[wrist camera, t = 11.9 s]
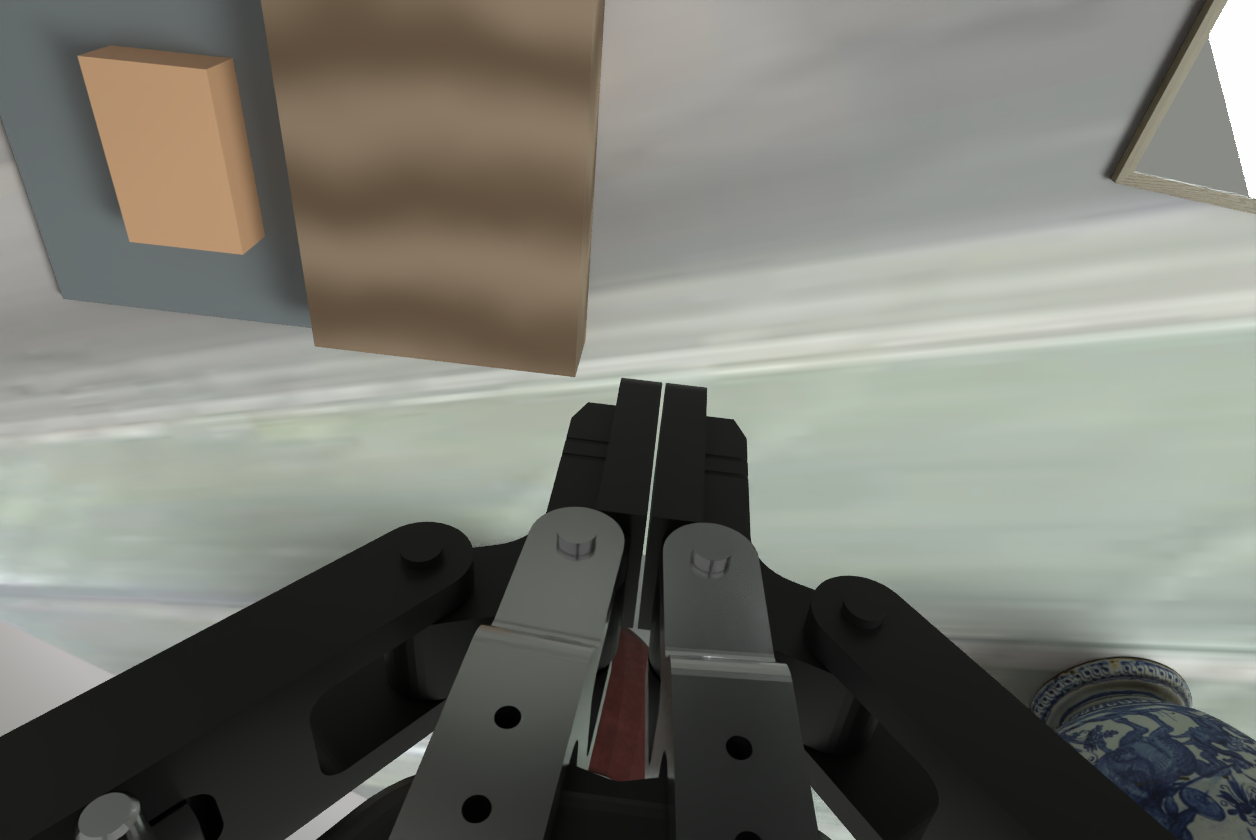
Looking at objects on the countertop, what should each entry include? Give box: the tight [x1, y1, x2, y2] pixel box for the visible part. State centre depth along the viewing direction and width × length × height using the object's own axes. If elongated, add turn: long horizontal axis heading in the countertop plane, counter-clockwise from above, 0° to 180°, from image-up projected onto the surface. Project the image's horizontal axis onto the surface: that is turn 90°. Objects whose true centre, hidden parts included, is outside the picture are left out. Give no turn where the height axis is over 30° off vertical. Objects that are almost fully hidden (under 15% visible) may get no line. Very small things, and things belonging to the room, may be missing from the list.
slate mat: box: [0, 0, 312, 328], centre depth 42 cm, size 20×16×1 cm
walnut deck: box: [261, 0, 605, 377], centre depth 41 cm, size 18×14×4 cm
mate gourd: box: [588, 554, 650, 781], centre depth 51 cm, size 16×14×20 cm
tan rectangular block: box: [78, 45, 265, 255], centre depth 41 cm, size 9×6×2 cm, turn 175°
